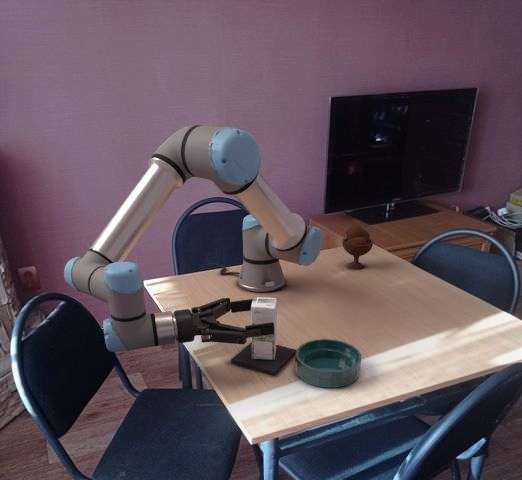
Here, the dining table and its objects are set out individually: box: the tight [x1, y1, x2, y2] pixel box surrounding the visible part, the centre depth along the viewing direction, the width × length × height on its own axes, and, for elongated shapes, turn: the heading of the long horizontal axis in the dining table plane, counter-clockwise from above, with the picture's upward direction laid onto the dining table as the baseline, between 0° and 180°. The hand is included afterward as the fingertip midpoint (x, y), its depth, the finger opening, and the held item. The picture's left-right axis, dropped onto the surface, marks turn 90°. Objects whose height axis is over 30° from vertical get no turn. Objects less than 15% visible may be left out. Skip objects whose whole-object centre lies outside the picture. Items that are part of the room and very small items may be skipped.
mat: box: [230, 341, 297, 377], centre depth 125 cm, size 12×12×1 cm
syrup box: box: [250, 296, 278, 360], centre depth 121 cm, size 6×6×14 cm
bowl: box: [294, 338, 362, 388], centre depth 119 cm, size 15×15×4 cm
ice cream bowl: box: [341, 224, 374, 270], centre depth 177 cm, size 11×11×15 cm
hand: (265, 315), depth 119 cm, fingers open, 13 cm apart
